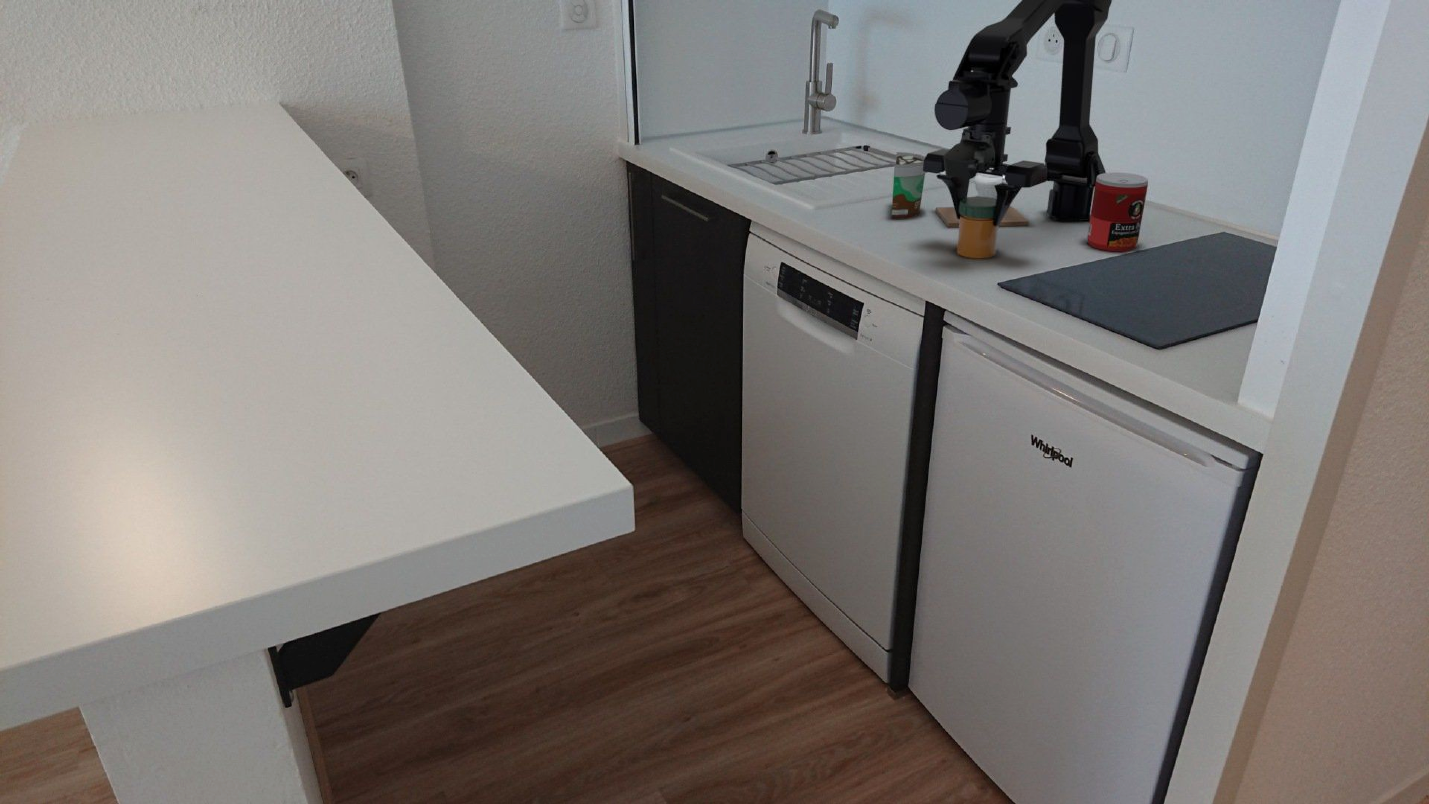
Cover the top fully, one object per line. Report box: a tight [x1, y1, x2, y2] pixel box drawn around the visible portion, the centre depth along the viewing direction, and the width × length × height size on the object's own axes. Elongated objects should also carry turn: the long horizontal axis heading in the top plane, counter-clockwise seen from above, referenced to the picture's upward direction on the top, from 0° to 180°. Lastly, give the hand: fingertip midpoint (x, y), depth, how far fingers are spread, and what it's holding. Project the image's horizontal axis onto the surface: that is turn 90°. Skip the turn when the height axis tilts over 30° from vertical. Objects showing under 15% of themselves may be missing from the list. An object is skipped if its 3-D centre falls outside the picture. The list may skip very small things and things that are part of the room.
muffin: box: [973, 168, 1003, 199], centre depth 183 cm, size 6×6×7 cm
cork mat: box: [935, 205, 1029, 228], centre depth 172 cm, size 14×11×1 cm
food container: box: [890, 151, 928, 220], centre depth 175 cm, size 12×6×10 cm, turn 168°
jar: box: [956, 215, 999, 259], centre depth 152 cm, size 6×6×8 cm
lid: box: [959, 196, 996, 219], centre depth 150 cm, size 6×6×2 cm
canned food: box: [1086, 172, 1149, 252], centre depth 153 cm, size 8×8×11 cm
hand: (977, 222), depth 151 cm, fingers closed on lid, 6 cm apart
